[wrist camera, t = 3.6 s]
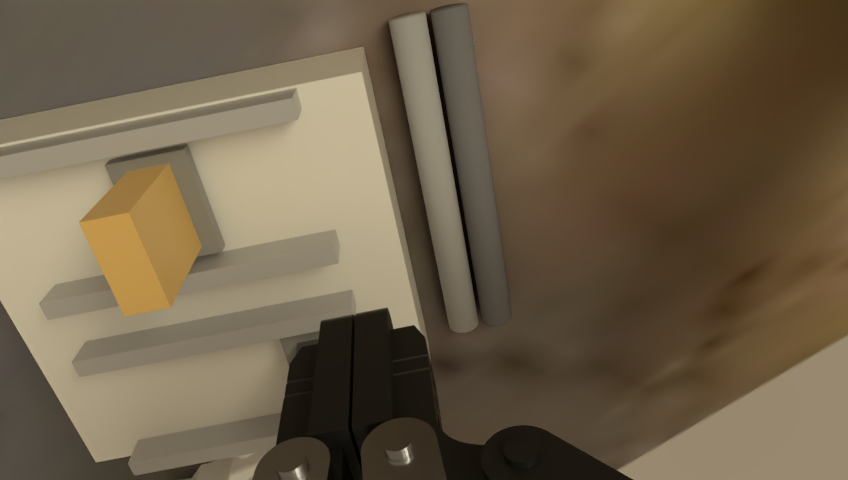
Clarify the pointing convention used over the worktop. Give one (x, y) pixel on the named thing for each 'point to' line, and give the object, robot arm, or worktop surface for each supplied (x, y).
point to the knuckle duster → (230, 468)
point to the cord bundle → (469, 159)
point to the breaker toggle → (151, 227)
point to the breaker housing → (210, 274)
